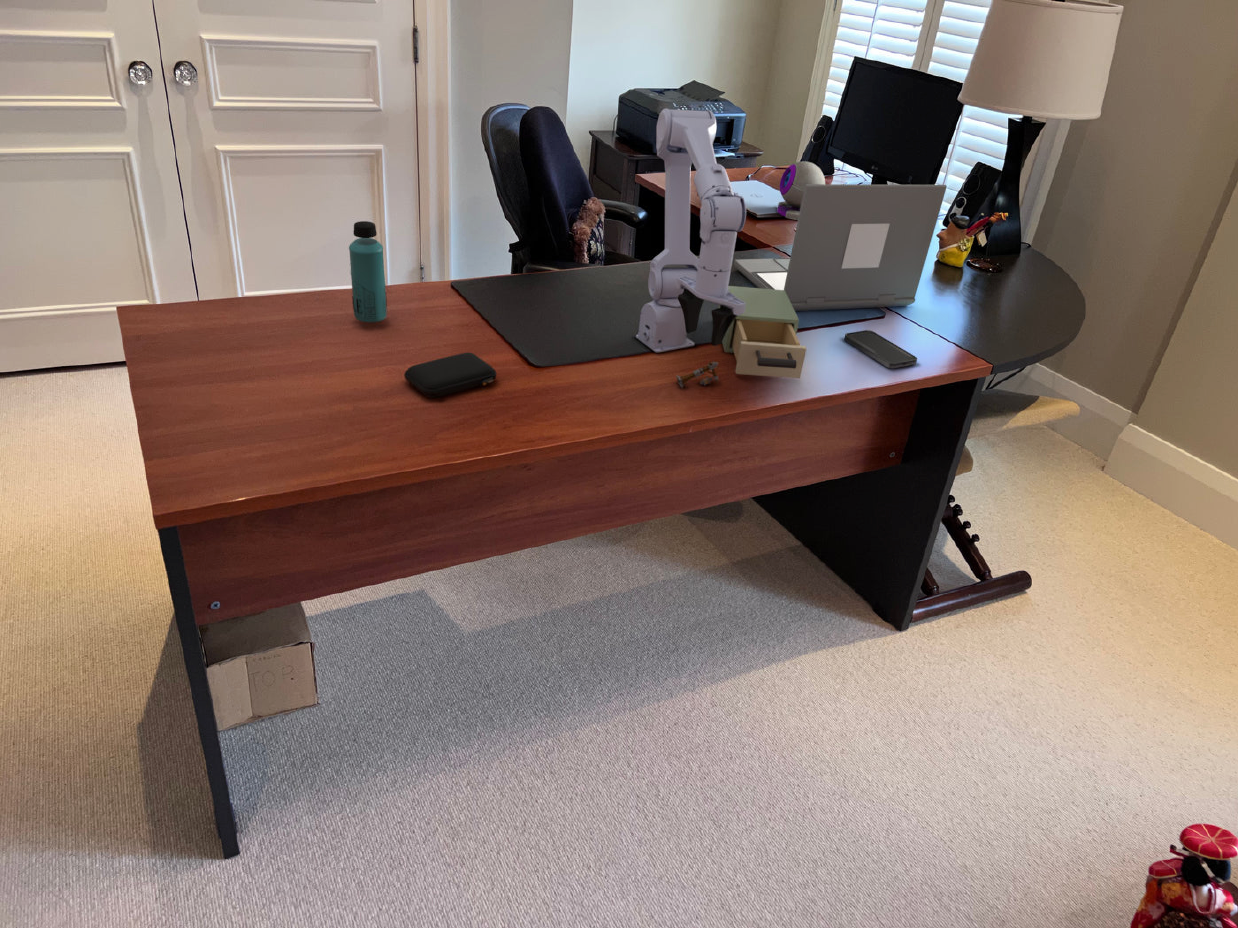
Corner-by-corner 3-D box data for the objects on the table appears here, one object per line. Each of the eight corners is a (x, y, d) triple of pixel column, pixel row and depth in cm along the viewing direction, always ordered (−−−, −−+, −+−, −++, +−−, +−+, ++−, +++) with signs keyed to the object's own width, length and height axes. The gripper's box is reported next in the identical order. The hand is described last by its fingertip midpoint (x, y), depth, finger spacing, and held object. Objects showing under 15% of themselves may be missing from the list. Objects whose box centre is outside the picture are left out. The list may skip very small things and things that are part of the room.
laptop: (855, 266, 233) (883, 153, 218) (913, 307, 212) (948, 186, 197) (732, 269, 222) (753, 151, 207) (781, 313, 202) (807, 186, 186)
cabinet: (791, 357, 183) (799, 320, 178) (724, 352, 182) (731, 315, 177) (777, 325, 196) (784, 290, 191) (715, 320, 195) (721, 285, 190)
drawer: (805, 391, 168) (812, 360, 165) (739, 386, 168) (745, 355, 164) (786, 345, 185) (792, 317, 182) (726, 341, 184) (731, 312, 181)
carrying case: (431, 406, 152) (504, 386, 161) (430, 390, 151) (504, 370, 159) (400, 380, 159) (472, 362, 168) (399, 365, 157) (472, 347, 166)
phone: (870, 329, 195) (919, 359, 185) (868, 334, 196) (918, 364, 185) (842, 334, 192) (891, 364, 181) (841, 338, 192) (889, 369, 182)
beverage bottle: (394, 321, 179) (390, 222, 169) (373, 333, 174) (367, 231, 163) (367, 313, 181) (362, 215, 171) (346, 324, 176) (338, 223, 165)
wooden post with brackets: (724, 381, 169) (718, 361, 166) (685, 398, 168) (679, 379, 166) (720, 376, 170) (715, 357, 167) (682, 393, 170) (675, 374, 167)
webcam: (770, 205, 273) (780, 154, 265) (811, 208, 275) (822, 158, 266) (781, 219, 262) (791, 167, 254) (823, 222, 264) (835, 170, 256)
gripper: (761, 275, 155) (748, 347, 162) (698, 249, 163) (688, 319, 170) (735, 283, 150) (723, 357, 158) (672, 256, 159) (662, 327, 166)
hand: (703, 338), depth 164 cm, fingers open, 6 cm apart
